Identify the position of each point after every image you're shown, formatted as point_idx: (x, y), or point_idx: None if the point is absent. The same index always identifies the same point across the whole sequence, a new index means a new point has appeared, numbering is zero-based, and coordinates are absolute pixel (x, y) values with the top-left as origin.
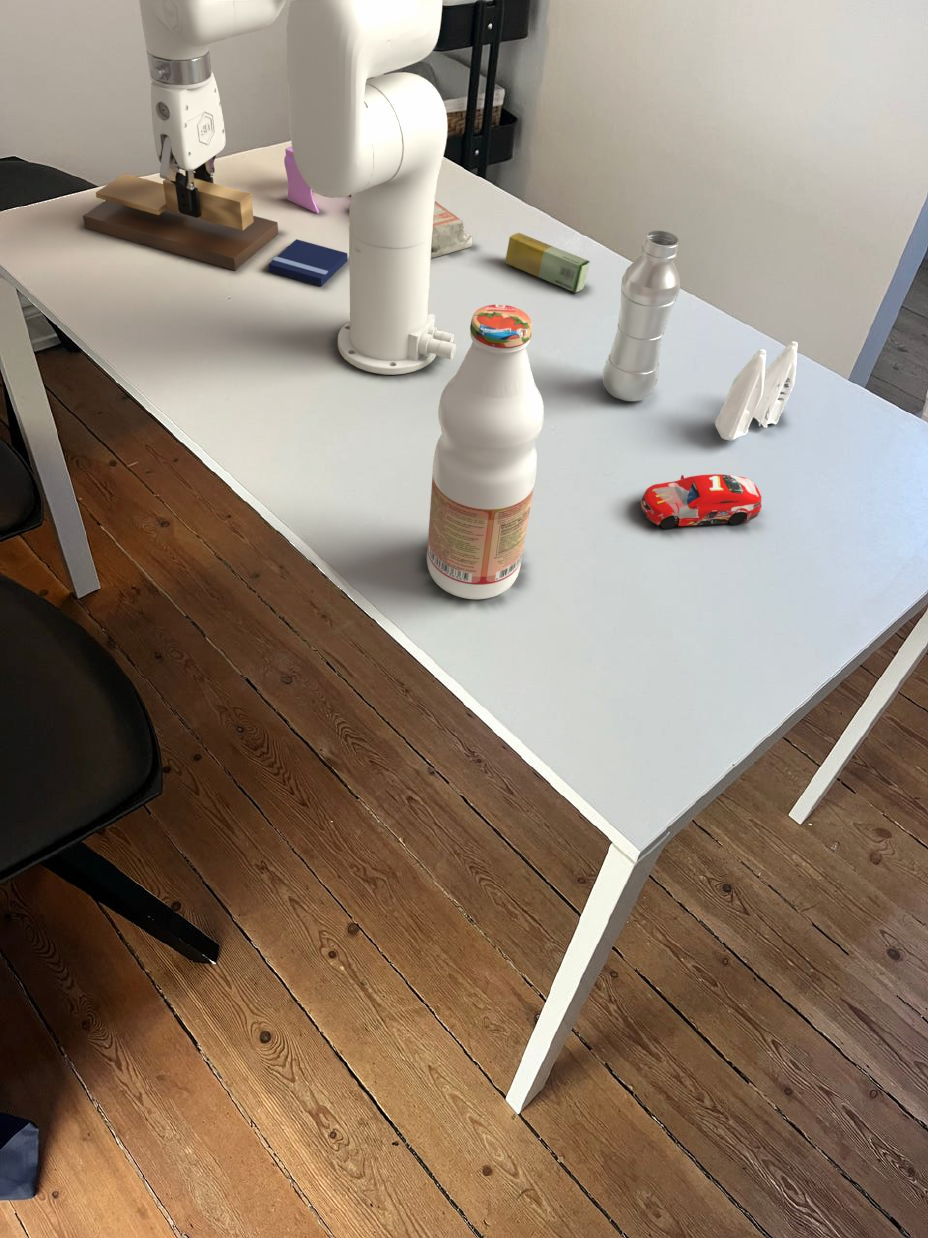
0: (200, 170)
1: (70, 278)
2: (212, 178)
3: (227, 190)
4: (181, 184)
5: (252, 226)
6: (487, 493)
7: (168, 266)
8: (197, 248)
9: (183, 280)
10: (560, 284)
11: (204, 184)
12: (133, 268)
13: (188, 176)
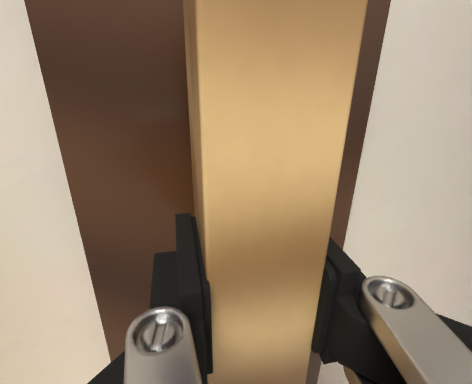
0: (203, 372)
1: (467, 284)
2: (183, 289)
3: (248, 138)
4: (457, 322)
5: (134, 43)
6: None
7: (390, 173)
8: (364, 133)
9: (443, 103)
10: None
11: (248, 283)
12: (415, 227)
13: (463, 343)
